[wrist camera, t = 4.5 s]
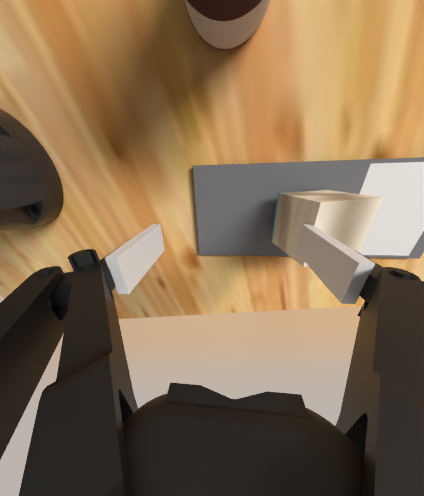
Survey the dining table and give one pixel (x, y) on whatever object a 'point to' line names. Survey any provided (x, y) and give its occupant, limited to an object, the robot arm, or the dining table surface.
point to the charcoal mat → (307, 179)
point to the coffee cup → (226, 20)
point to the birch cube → (323, 217)
